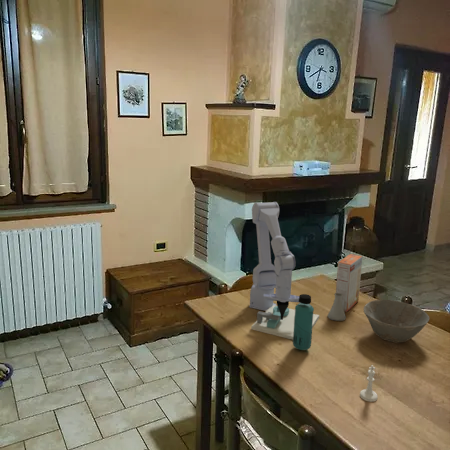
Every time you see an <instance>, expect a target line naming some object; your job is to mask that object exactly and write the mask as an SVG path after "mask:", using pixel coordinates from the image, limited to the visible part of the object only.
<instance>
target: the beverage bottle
mask: <svg viewBox="0 0 450 450" xmlns="http://www.w3.org/2000/svg"><path fill="white" fill-rule="evenodd" d="M298 296H299V302H300V303H299V302H298V303H297V304H296V305H295V307H294V310H295V317H294V319H295V320H294V329H293V330H294V335H293V340H292V345H293V347H294V348H295V349H297V350H301V351H306V350H309V349H310V348H311V346H312V340H313V328H314V327H313V328H312V323H313V314H314V311H315V309H314V307H313V306H312V305H311V303H312V296H311V295H310V294H306V293H303V294H300V295H298Z"/></svg>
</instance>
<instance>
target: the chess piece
mask: <svg viewBox="0 0 450 450" xmlns="http://www.w3.org/2000/svg"><path fill="white" fill-rule="evenodd" d="M375 370H376V367H375V366H374V365H373V364H372V365H370V366H369V367H368V370H367V374H368V376H367V377H366V381H368V383H367V386H366V389H365V388H364V389H362V390H360V392H359V397H360V398H361V399H362V400H364V401H367V402H371V403H372V402H376V401H377V400H378V394H377V392H376V391H374V390H373V382H375V378H374V376H375V375H376V372H375Z"/></svg>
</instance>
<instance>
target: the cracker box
mask: <svg viewBox="0 0 450 450" xmlns="http://www.w3.org/2000/svg"><path fill="white" fill-rule="evenodd" d="M362 265H363V255H359V254H358V255H357V254H354V253H353V254H352V253H349V254H348V255H346V256H344V258H342V259H341V260H339V261H337V270H336V271H337V272H336V285H335V286H336V287H335V293H341V294H343V296H342V306H343V310H344V312H345V313H346V312H349V311H350V310H351V309H352V308H353V307H354V306H355V304H357V303H358V302H359V296H360V286H361V277H362V276H361V275H362V267H363V266H362Z"/></svg>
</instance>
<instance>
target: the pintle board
mask: <svg viewBox="0 0 450 450" xmlns="http://www.w3.org/2000/svg"><path fill="white" fill-rule="evenodd" d="M275 306H277V304H276V305H273V306H272V307H270V308H269V309H268V310H267V311H265V312H263V311H261V310H260V311H257V313H256V321H254V323H253V324H252V325H251V329H250V330H254V331H257V332H261V333H265V334H268V335H269V334H270V335H272V336H277V337H280V338H284V339H289V340H292V341H293V335H294V330H293V329H294V320H295V319H294V317H295V308H293V309H292V308H289V314H288V315H287V316H283V320H280V321H279V322H278V324H277V325H276V327H275V328H270V327H267V322H268V321H269V319H273V320H277V321H278V320H279V319H280V316H277V315H273V314H274V313H273V308H274V307H275ZM319 319H320V314H315V313H313V323H312V328H314V327H315V325H316V323H317V322H318V321H319Z"/></svg>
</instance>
